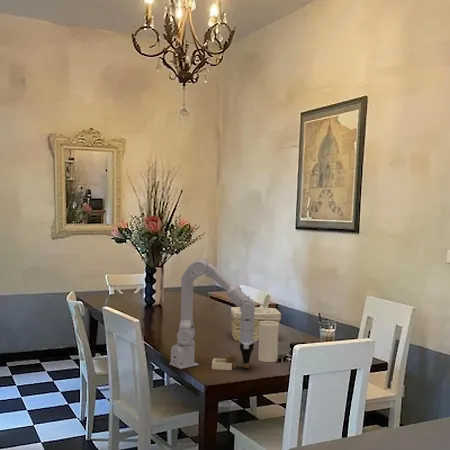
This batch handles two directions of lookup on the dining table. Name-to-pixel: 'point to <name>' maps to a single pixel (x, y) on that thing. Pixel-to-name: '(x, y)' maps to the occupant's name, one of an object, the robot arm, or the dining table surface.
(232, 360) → the tan rounded-end part
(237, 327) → the storage basket
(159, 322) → the dining table surface
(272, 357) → the cup
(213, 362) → the small tray
